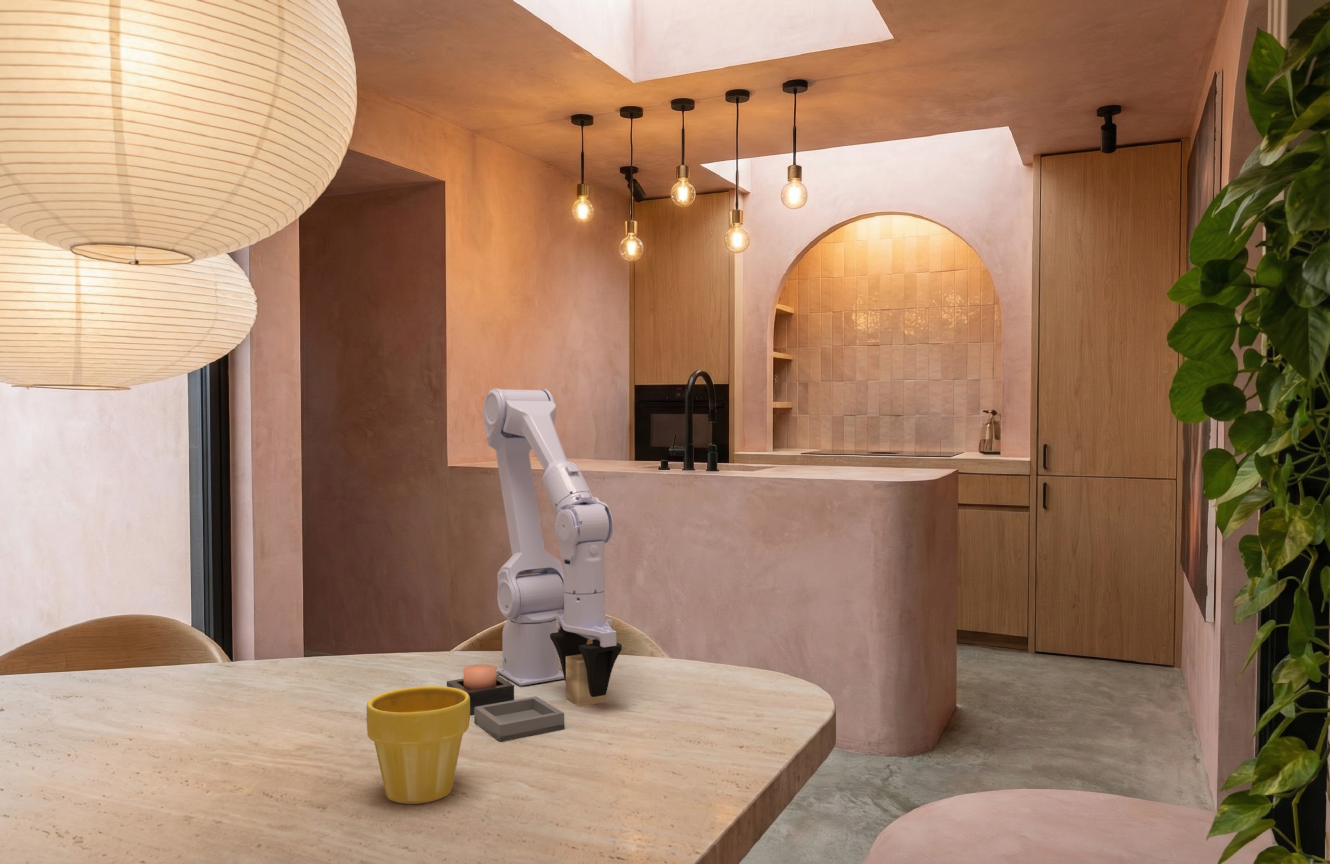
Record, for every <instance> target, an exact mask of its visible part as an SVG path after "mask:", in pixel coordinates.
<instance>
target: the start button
mask: <svg viewBox="0 0 1330 864" xmlns="http://www.w3.org/2000/svg"><path fill="white" fill-rule="evenodd" d="M462 671H463V679H464V688H466V689H467V690H475V689H481V688H487V687H493V686H496V675H497V666H495V665H494V664H493V665H492V664H483V663H482V664H473V665H469V666H466V667H464V668H463V670H462Z"/></svg>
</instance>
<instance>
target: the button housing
mask: <svg viewBox="0 0 1330 864" xmlns="http://www.w3.org/2000/svg"><path fill="white" fill-rule="evenodd" d="M446 687H452V688H457V689H460V690H463V691H465V692H467V693H468V695H469V697H470V716H473V715H474V707H478V706H484V705H489V704H495V703H501V702H506V701H512V700H515V685H514V684H512V683H511V682H510V681H507V680H506V679H504V678H503V677H501V676H500V675H498V674H496V686H493V687H487V688H481V689H475V690H467V689H466V688H464V678H459V679H452V680H447V681H446Z"/></svg>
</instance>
